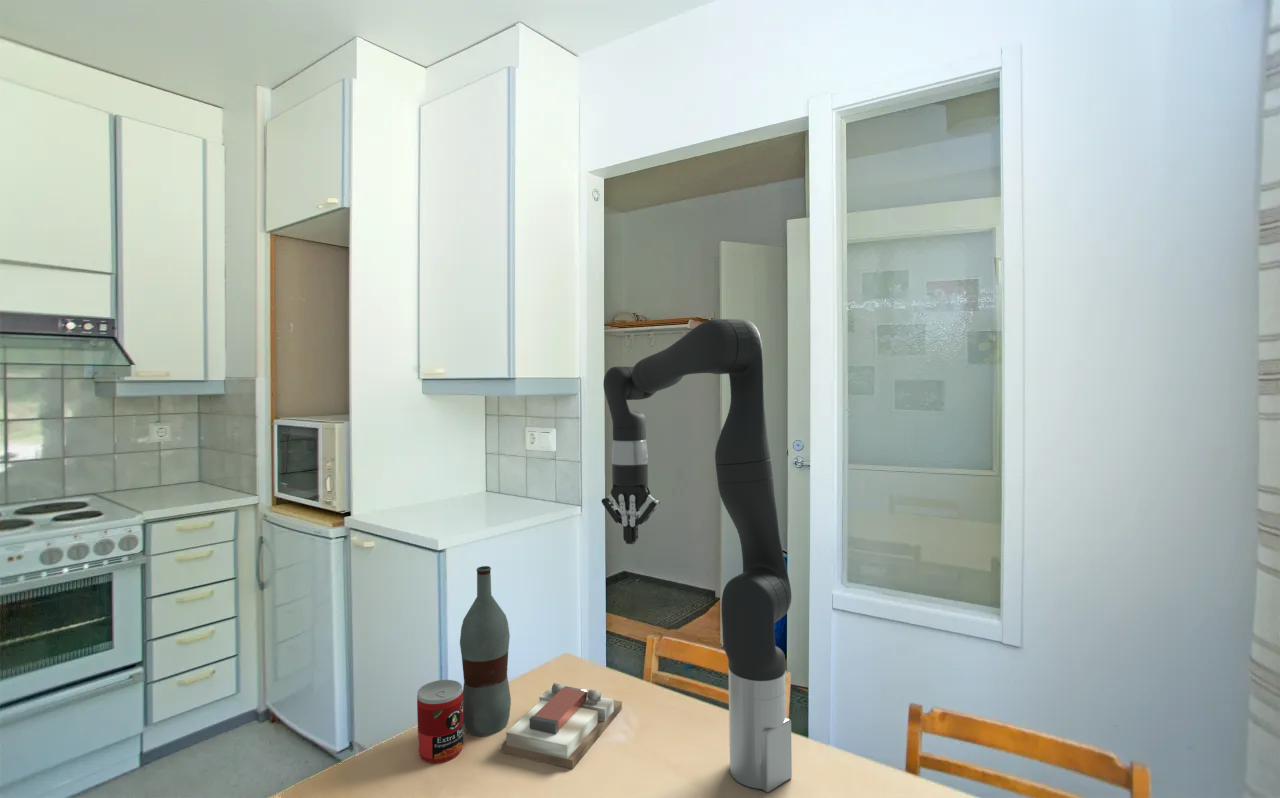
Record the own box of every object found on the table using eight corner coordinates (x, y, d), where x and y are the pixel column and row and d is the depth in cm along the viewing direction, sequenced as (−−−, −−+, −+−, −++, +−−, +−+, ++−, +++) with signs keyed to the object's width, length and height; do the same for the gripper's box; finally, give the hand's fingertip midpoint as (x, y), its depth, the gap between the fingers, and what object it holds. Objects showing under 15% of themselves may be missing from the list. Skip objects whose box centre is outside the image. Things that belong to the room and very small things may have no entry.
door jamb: (559, 697, 130) (559, 669, 130) (621, 709, 125) (621, 679, 125) (501, 752, 110) (501, 719, 110) (572, 769, 105) (572, 734, 105)
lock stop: (565, 683, 123) (529, 718, 111) (589, 687, 121) (555, 723, 109) (566, 692, 123) (529, 728, 111) (589, 697, 121) (555, 734, 109)
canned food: (436, 769, 106) (434, 704, 105) (408, 753, 110) (407, 691, 110) (473, 748, 112) (472, 687, 112) (445, 734, 117) (444, 675, 116)
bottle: (488, 707, 126) (485, 558, 126) (521, 720, 121) (518, 565, 121) (450, 729, 118) (447, 570, 118) (485, 743, 113) (482, 577, 113)
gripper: (593, 462, 131) (595, 545, 131) (653, 464, 126) (654, 550, 127) (608, 458, 138) (609, 537, 138) (665, 460, 133) (666, 541, 134)
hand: (631, 543), depth 132 cm, fingers closed
